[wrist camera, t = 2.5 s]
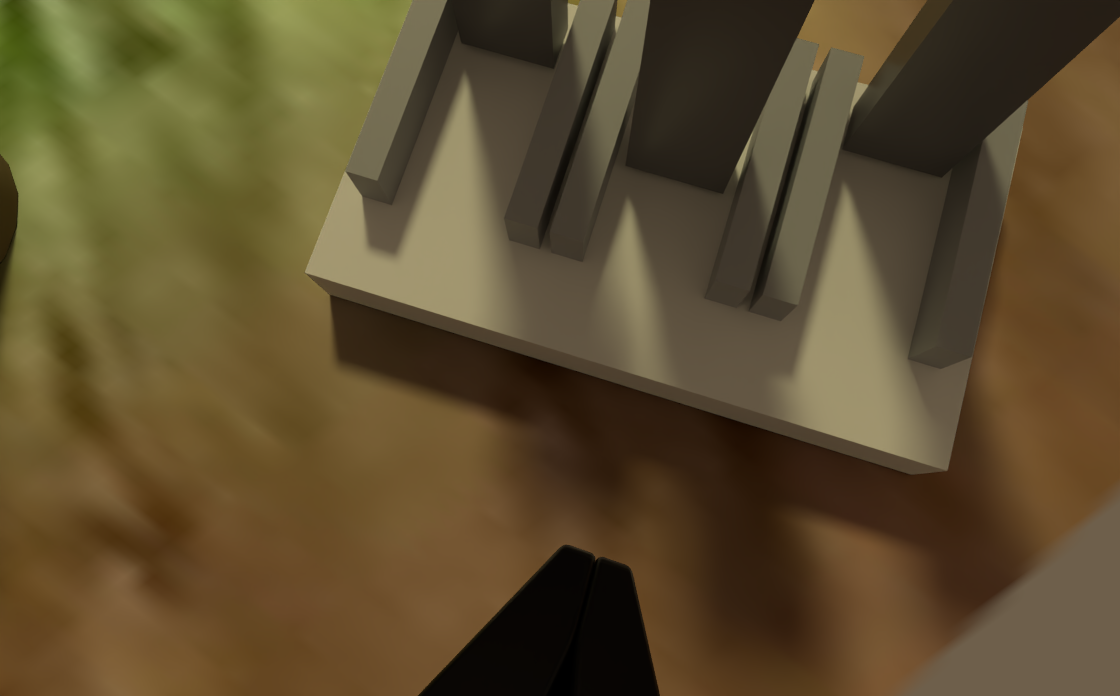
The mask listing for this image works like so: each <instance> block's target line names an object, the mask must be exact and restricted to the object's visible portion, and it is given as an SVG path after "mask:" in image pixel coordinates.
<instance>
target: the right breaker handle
mask: <svg viewBox="0 0 1120 696" xmlns="http://www.w3.org/2000/svg"><path fill="white" fill-rule="evenodd" d="M1119 17H1120V0H927V2H926V3H925V5H924V6H923V7H922V9H921V10H920V12H919V13H918V15H917V16H916V18H915V19H914V20H913V22H912V23H911V25H910V26H909V28H908V29H907V30H906V32H905V33H904V35H903V36H902V38H901V39H900V41H899V42H898V43H897V45H896V46H895V48H894V49H893V51H892V52H891V54H890V55H889V56H888V58H887V59H886V61H885V62H884V64H883V65H882V67H881V68H880V69H879V71H878V72H877V74H876V75H875V77H874V78H873V80H872V81H871V82H870V84H869V85H868V87H867V88H866V90H865V91H864V93H863V94H862V95H861V97H860V98H859V100H858V101H857V103H856V104H855V105H854V107H853V110H852V114H851V118H850V122H849V125H848V129H847V133H846V137H845V140H844V144H843V148H842V150H845V151H849V152H852V153H856V154H859V155H863V156H866V157H870V158H874V159H877V160H881V161H884V162H888V163H891V164H895V165H899V166H902V167H906V168H909V169H913V170H916V171H920V172H924V173H927V174H931V175H934V176H938V177H941V178H942V177H943V176H944V175H945V174H946V173H948V172H949V171H950V170H951V169H952V168H953V167H954V166H955V165H956V164H957V163H959V162H960V161H961V160H962V159H963V158H964V157H965V156H966V155H967V154H969V153H970V152H971V151H972V150H973V149H974V148H975V147H976V146H977V145H978V144H980V143H981V142H982V141H983V140H984V139H985V138H986V137H987V136H988V135H990V134H991V133H992V132H993V131H994V130H995V129H996V128H997V127H998V126H999V125H1001V124H1002V123H1003V122H1004V121H1005V120H1006V119H1007V118H1008V117H1009V116H1010V115H1012V114H1013V113H1014V112H1015V111H1016V110H1017V109H1018V108H1019V107H1020V106H1022V105H1023V104H1024V103H1025V102H1026V101H1027V100H1028V99H1029V98H1030V97H1031V96H1033V95H1034V94H1035V93H1036V92H1037V91H1038V90H1039V89H1040V88H1041V87H1043V86H1044V85H1045V84H1046V83H1047V82H1048V81H1049V80H1050V79H1051V78H1052V77H1054V76H1055V75H1056V74H1057V73H1058V72H1059V71H1060V70H1061V69H1062V68H1064V67H1065V66H1066V65H1067V64H1068V63H1069V62H1070V61H1071V60H1072V59H1073V58H1075V57H1076V56H1077V55H1078V54H1079V53H1080V52H1081V51H1082V50H1083V49H1085V48H1086V47H1087V46H1088V45H1089V44H1090V43H1091V42H1092V41H1093V40H1094V39H1096V38H1097V37H1098V36H1099V35H1100V34H1101V33H1102V32H1103V31H1104V30H1106V29H1107V28H1108V27H1109V26H1110V25H1111V24H1112V23H1113V22H1114V21H1115V20H1117V19H1118V18H1119Z"/></svg>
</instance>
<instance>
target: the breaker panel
mask: <svg viewBox="0 0 1120 696" xmlns="http://www.w3.org/2000/svg"><path fill="white" fill-rule="evenodd" d="M649 6H650V0H628V1H627V3H626V6H625V9H624V12H623V15H622V18H620V17H617V16H616V9H617V0H580V2H579V5H578V6H576V5H573V4H569V3H568V30H567V33H566V36H565V38H564V41H563V44H562V47H561V50H560V53H559V56H558V58H557V61H556V64H555V67H554V69H552V68H549V67H545V66H541V65H538V64H534V63H531V62H527V61H524V60H520V59H516V58H513V57H509V56H506V55H502V54H499V53H495V52H491V51H488V50H484V49H481V48H477V47H474V46H470V45H466V44H463V43H461V40H460V35H459V31H458V27H457V23H456V19H455V14H454V10H453V6H452V2H451V0H413V1H412V3H411V6H410V8H409V11H408V13H407V16H406V18H405V21H404V24H403V26H402V29H401V31H400V34H399V36H398V39H397V41H396V44H395V46H394V49H393V51H392V54H391V56H390V59H389V61H388V64H387V66H386V69H385V71H384V74H383V76H382V79H381V82H380V84H379V87H378V89H377V92H376V94H375V97H374V99H373V102H372V104H371V107H370V109H369V112H368V114H367V117H366V119H365V122H364V124H363V127H362V129H361V132H360V135H359V137H358V140H357V142H356V145H355V147H354V150H353V152H352V155H351V157H350V160H349V162H348V165H347V167H346V170H345V172H344V175H343V177H342V180H341V182H340V185H339V187H338V190H337V193H336V195H335V198H334V200H333V203H332V205H331V208H330V210H329V213H328V215H327V218H326V220H325V223H324V225H323V228H322V230H321V233H320V235H319V238H318V240H317V243H316V246H315V248H314V251H313V253H312V256H311V258H310V261H309V263H308V266H307V268H306V271H305V273H306V274H307V275H308V276H309V277H310V278H311V279H312V280H313V281H315V282H316V283H317V284H318V285H319V286H320V287H321V288H322V289H324V290H325V291H326V292H327V293H328V294H329V295H333V296H336V297H339V298H342V299H345V300H349V301H352V302H355V303H358V304H362V305H365V306H368V307H371V308H374V309H378V310H381V311H384V312H387V313H391V314H394V315H397V316H400V317H404V318H407V319H410V320H413V321H416V322H420V323H423V324H426V325H429V326H433V327H436V328H439V329H442V330H446V331H449V332H452V333H455V334H458V335H462V336H465V337H468V338H471V339H475V340H478V341H481V342H484V343H487V344H491V345H494V346H497V347H500V348H504V349H507V350H510V351H513V352H517V353H520V354H523V355H526V356H529V357H533V358H536V359H539V360H542V361H546V362H549V363H552V364H555V365H558V366H562V367H565V368H568V369H571V370H575V371H578V372H581V373H584V374H588V375H591V376H594V377H597V378H600V379H604V380H607V381H610V382H613V383H617V384H620V385H623V386H626V387H629V388H633V389H636V390H639V391H642V392H646V393H649V394H652V395H655V396H659V397H662V398H665V399H668V400H671V401H675V402H678V403H681V404H684V405H688V406H691V407H694V408H697V409H700V410H704V411H707V412H710V413H713V414H717V415H720V416H723V417H726V418H730V419H733V420H736V421H739V422H742V423H746V424H749V425H752V426H755V427H759V428H762V429H765V430H768V431H771V432H775V433H778V434H781V435H784V436H788V437H791V438H794V439H797V440H801V441H804V442H807V443H810V444H813V445H817V446H820V447H823V448H826V449H830V450H833V451H836V452H839V453H842V454H846V455H849V456H852V457H855V458H859V459H862V460H865V461H868V462H872V463H875V464H878V465H881V466H884V467H888V468H891V469H894V470H897V471H901V472H904V473H907V474H910V475H914V474H924V473H933V472H942V471H948V466H949V462H950V457H951V453H952V448H953V443H954V439H955V434H956V430H957V425H958V421H959V416H960V412H961V407H962V402H963V398H964V393H965V389H966V384H967V380H968V375H969V370H970V366H971V361H972V357H973V352H974V348H975V343H976V338H977V334H978V329H979V325H980V320H981V316H982V311H983V307H984V302H985V297H986V293H987V288H988V284H989V279H990V275H991V270H992V265H993V261H994V256H995V252H996V247H997V243H998V238H999V233H1000V229H1001V224H1002V220H1003V215H1004V211H1005V206H1006V202H1007V197H1008V192H1009V188H1010V183H1011V179H1012V174H1013V170H1014V165H1015V160H1016V156H1017V151H1018V147H1019V142H1020V138H1021V133H1022V128H1023V122H1024V117H1025V113H1026V108H1027V104H1028V100H1027V101H1026V102H1025V103H1024V104H1023V105H1022V106H1020V107H1019V108H1018V109H1017V110H1016V111H1015V112H1014V113H1013V114H1012V115H1010V116H1009V117H1008V118H1007V119H1006V120H1005V121H1004V122H1003V123H1002V124H1001V125H999V126H998V127H997V128H996V129H995V130H994V131H993V132H992V133H991V134H990V135H988V136H987V137H986V138H985V139H984V140H983V141H982V142H981V143H980V144H978V145H977V146H976V147H975V148H974V149H973V150H972V151H971V152H970V153H969V154H967V155H966V156H965V157H964V158H963V159H962V160H961V161H960V162H959V163H957V164H956V165H955V166H954V167H953V168H952V169H951V170H950V171H949V172H948V173H946V174H945V175H944V176H943V177H942V178H941V177H938V176H934V175H931V174H927V173H924V172H920V171H916V170H913V169H909V168H906V167H902V166H899V165H895V164H891V163H888V162H884V161H881V160H877V159H874V158H870V157H866V156H863V155H859V154H856V153H852V152H849V151H845V150H842V148H843V144H844V140H845V137H846V133H847V129H848V125H849V122H850V118H851V114H852V110H853V107H854V105H855V104H856V103H857V101H858V100H859V98H860V97H861V95H862V94H863V93H864V91H865V90H866V88H867V87H868V85H866V84H862V83H858V78H859V74H860V71H861V67H862V63H863V59H864V56H861V55H857V54H854V53H850V52H846V51H843V50H839V49H835V48H832V47H831V49H830V51H829V53H828V54H827V56H826V58H825V60H824V62H823V63H822V65H821V67H820V69H819V71H814V70H812V68H813V64H814V60H815V57H816V53H817V50H818V46H819V44H817V43H813V42H809V41H806V40H802V39H798V38H796V40H795V43H794V45H793V47H792V49H791V51H790V53H789V55H788V57H787V60H786V62H785V64H784V66H783V68H782V70H781V72H780V74H779V76H778V79H777V81H776V83H775V85H774V87H773V89H772V91H771V93H770V96H769V98H768V100H767V102H766V104H765V106H764V108H763V110H762V112H761V115H760V117H759V119H758V121H757V123H756V125H755V127H754V129H753V132H752V134H751V136H750V138H749V140H748V142H747V144H746V146H745V148H744V151H743V153H742V155H741V157H740V159H739V161H738V163H737V165H736V168H735V170H734V172H733V174H732V176H731V178H730V180H729V182H728V184H727V187H726V189H725V191H724V193H723V194H721V193H718V192H714V191H711V190H707V189H704V188H700V187H697V186H693V185H690V184H686V183H683V182H679V181H676V180H673V179H669V178H666V177H662V176H659V175H655V174H652V173H648V172H645V171H641V170H638V169H634V168H631V167H627V166H625V165H626V158H627V151H628V145H629V138H630V132H631V125H632V118H633V112H634V105H635V98H636V92H637V85H638V79H639V72H640V65H641V59H642V52H643V46H644V39H645V32H646V26H647V19H648V12H649Z"/></svg>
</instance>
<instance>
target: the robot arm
mask: <svg viewBox="0 0 1120 696" xmlns="http://www.w3.org/2000/svg"><path fill="white" fill-rule="evenodd" d="M418 696H660V694H659V689H658V685H657V680H656V676H655V671H654V667H653V662H652V658H651V653H650V649H649V644H648V640H647V636H646V631H645V627H644V622H643V618H642V613H641V609H640V604H639V600H638V595H637V591H636V586H635V582H634V577H633V573H632V571H631V569H630V568H629V567H628V566H627V565H625V564H622V563H619V562H616V561H613V560H610V559H607V558H605V557H600V558H598V559H597V560H596V561H595V556H594V555H593V554H592V553H590V552H587V551H585V550H582V549H579V548H576V547H573V546H570V545H563V546H562V547H560V548H559V549H558V550H557V551H556V552H555V553H554V554H553V555H552V556H551V557H550V558H549V559H548V560H547V561H546V562H545V564H544V565H543V566H542V567H541V568H540V569H539V570H538V571H537V572H536V573H535V574H534V575H533V576H532V577H531V578H530V579H529V580H528V581H527V582H526V583H525V584H524V585H523V586H522V588H521V589H520V590H519V591H518V592H517V593H516V594H515V595H514V596H513V597H512V598H511V599H510V600H509V601H508V602H507V603H506V604H505V605H504V606H503V607H502V608H501V609H500V610H499V612H498V613H497V614H496V615H495V616H494V617H493V618H492V619H491V620H490V621H489V622H488V623H487V624H486V625H485V626H484V627H483V628H482V629H481V630H480V631H479V632H478V633H477V634H476V635H475V637H474V638H473V639H472V640H471V641H470V642H469V643H468V644H467V645H466V646H465V647H464V648H463V649H462V650H461V651H460V652H459V653H458V654H457V655H456V656H455V657H454V658H453V659H452V661H451V662H450V663H449V664H448V665H447V666H446V667H445V668H444V669H443V670H442V671H441V672H440V673H439V674H438V675H437V676H436V677H435V678H434V679H433V680H432V681H431V682H430V683H429V685H428V686H427V687H426V688H425V689H424V690H423V691H422V692H421V693H420V694H419V695H418Z"/></svg>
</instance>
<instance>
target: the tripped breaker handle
mask: <svg viewBox="0 0 1120 696" xmlns="http://www.w3.org/2000/svg"><path fill="white" fill-rule="evenodd" d="M813 2H814V0H650V6H649V12H648V19H647V26H646V32H645V39H644V46H643V52H642V59H641V65H640V72H639V79H638V85H637V92H636V98H635V105H634V112H633V118H632V125H631V132H630V138H629V145H628V151H627V158H626V165H625V166H627V167H631V168H634V169H638V170H641V171H645V172H648V173H652V174H655V175H659V176H662V177H666V178H669V179H673V180H676V181H679V182H683V183H686V184H690V185H693V186H697V187H700V188H704V189H707V190H711V191H714V192H718V193H721V194H723V193H724V191H725V189H726V187H727V184H728V182H729V180H730V178H731V176H732V174H733V172H734V170H735V168H736V165H737V163H738V161H739V159H740V157H741V155H742V153H743V151H744V148H745V146H746V144H747V142H748V140H749V138H750V136H751V134H752V132H753V129H754V127H755V125H756V123H757V121H758V119H759V117H760V115H761V112H762V110H763V108H764V106H765V104H766V102H767V100H768V98H769V96H770V93H771V91H772V89H773V87H774V85H775V83H776V81H777V79H778V76H779V74H780V72H781V70H782V68H783V66H784V64H785V62H786V60H787V57H788V55H789V53H790V51H791V49H792V47H793V45H794V43H795V40H796V38H797V36H798V34H799V32H800V30H801V28H802V26H803V24H804V21H805V19H806V17H807V15H808V13H809V11H810V9H811V7H812V4H813Z"/></svg>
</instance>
